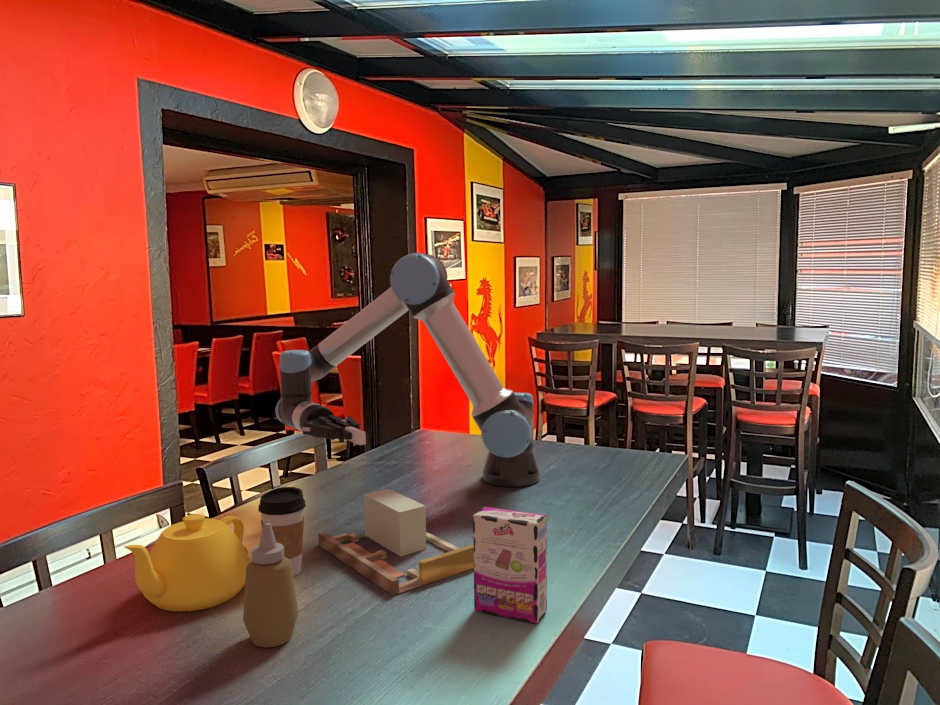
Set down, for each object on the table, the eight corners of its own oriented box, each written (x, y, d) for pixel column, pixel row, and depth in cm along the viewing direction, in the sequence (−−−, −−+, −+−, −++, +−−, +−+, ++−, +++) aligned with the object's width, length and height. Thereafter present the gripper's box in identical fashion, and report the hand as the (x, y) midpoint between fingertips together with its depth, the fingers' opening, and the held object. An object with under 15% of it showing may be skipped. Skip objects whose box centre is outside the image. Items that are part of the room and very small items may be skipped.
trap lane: (318, 545, 144) (318, 526, 143) (400, 523, 156) (400, 505, 155) (393, 595, 121) (392, 573, 121) (482, 565, 133) (481, 544, 133)
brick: (365, 535, 149) (363, 494, 148) (389, 529, 152) (388, 488, 151) (400, 557, 138) (399, 512, 137) (426, 549, 141) (425, 505, 140)
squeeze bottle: (310, 631, 110) (305, 519, 107) (275, 657, 102) (269, 538, 100) (269, 621, 113) (264, 512, 111) (232, 645, 106) (226, 529, 104)
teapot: (168, 640, 108) (162, 554, 106) (93, 615, 116) (86, 534, 114) (282, 576, 130) (279, 503, 128) (212, 558, 138) (208, 490, 136)
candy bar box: (548, 611, 115) (548, 514, 113) (537, 625, 111) (537, 524, 109) (485, 598, 120) (484, 504, 118) (472, 611, 116) (471, 514, 114)
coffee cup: (316, 565, 134) (314, 488, 132) (291, 584, 126) (288, 502, 124) (278, 560, 137) (275, 484, 135) (251, 578, 129) (247, 498, 127)
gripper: (338, 431, 175) (389, 450, 156) (288, 438, 167) (335, 460, 148) (338, 401, 174) (388, 417, 155) (287, 407, 166) (334, 425, 147)
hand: (362, 438), depth 152 cm, fingers closed
